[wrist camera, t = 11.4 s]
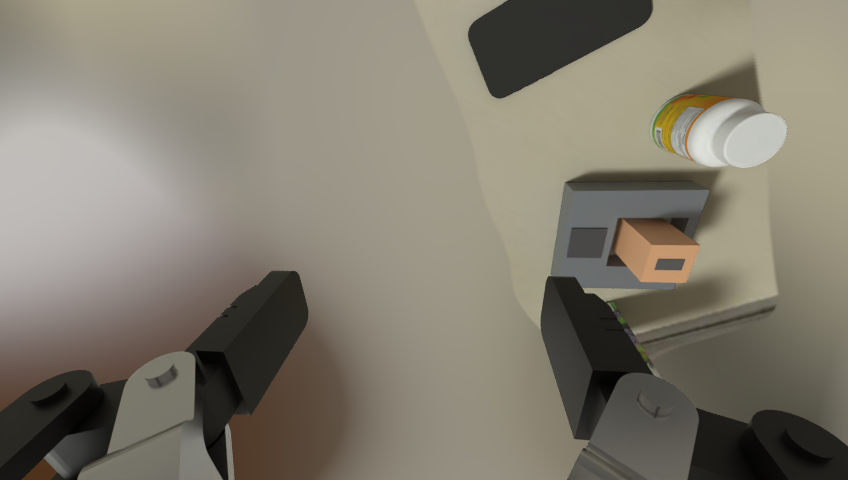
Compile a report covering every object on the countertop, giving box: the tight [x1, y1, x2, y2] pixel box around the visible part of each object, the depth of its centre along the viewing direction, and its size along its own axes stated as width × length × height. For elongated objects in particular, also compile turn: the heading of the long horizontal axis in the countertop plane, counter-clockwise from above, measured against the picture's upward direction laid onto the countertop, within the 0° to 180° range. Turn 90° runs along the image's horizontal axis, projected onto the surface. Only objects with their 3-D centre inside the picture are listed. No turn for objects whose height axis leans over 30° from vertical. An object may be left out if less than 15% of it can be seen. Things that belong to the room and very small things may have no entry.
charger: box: [612, 218, 700, 283], centre depth 35 cm, size 4×4×7 cm
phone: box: [468, 0, 651, 98], centre depth 30 cm, size 7×1×15 cm
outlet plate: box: [551, 181, 710, 290], centre depth 37 cm, size 12×13×3 cm
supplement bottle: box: [650, 94, 787, 168], centre depth 28 cm, size 5×5×10 cm
